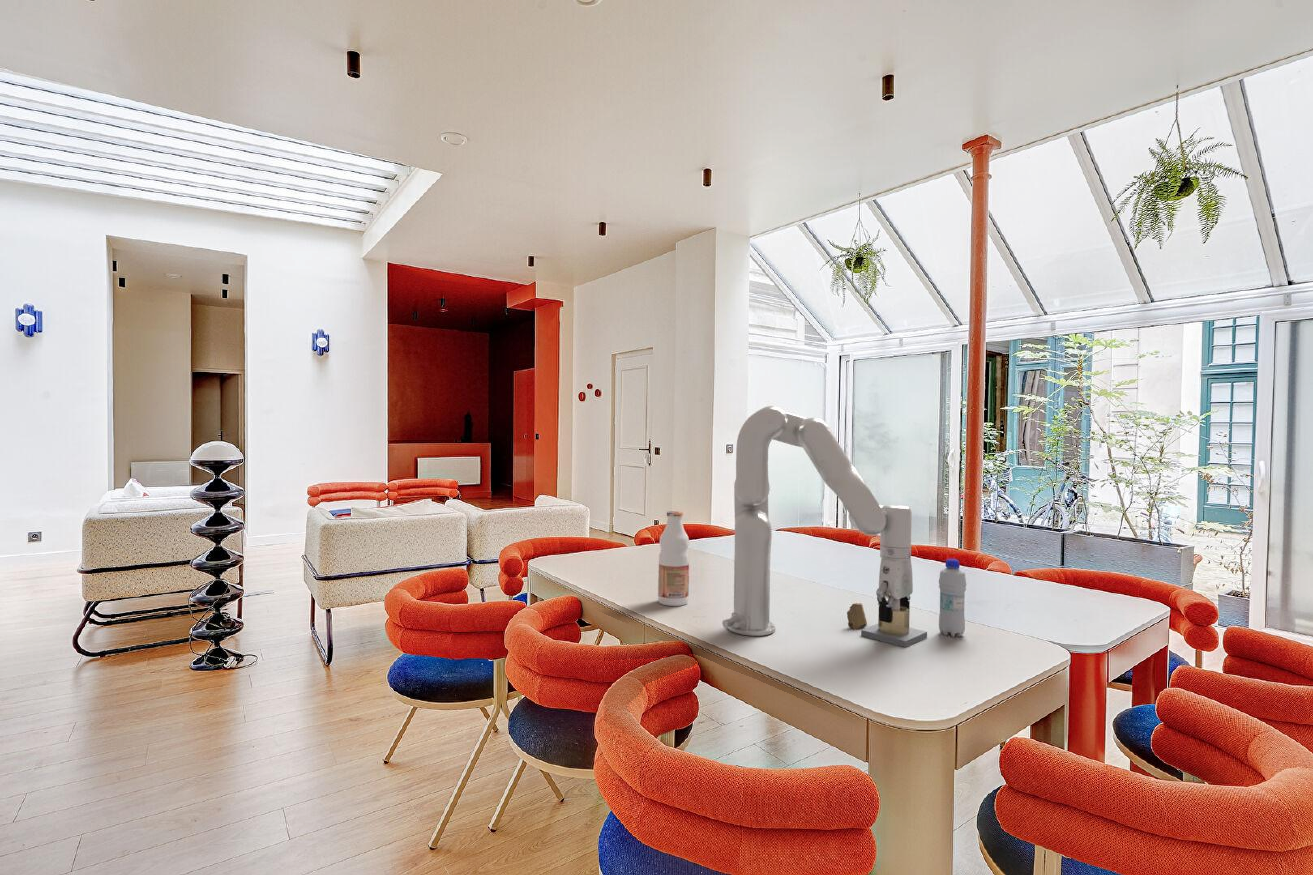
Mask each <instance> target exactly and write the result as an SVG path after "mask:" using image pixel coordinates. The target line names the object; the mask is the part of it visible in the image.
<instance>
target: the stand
mask: <svg viewBox="0 0 1313 875" xmlns="http://www.w3.org/2000/svg"><path fill="white" fill-rule="evenodd" d="M890 607H892V610H900V599H894V597H893V600H892V603H891V605H890ZM860 636H862V637H865V638H869V639H872V640H877V641H880V642H884V643H888V644H892V645H895V646H899V647H902V648H908V647H909V646H912V645H914V644H916V643H918V642H920V641H922V640H926V639H927V638H928V631H925V630H921V629H918V628H917V629H916V628H913V627H909V633H908V634H905V635H891V634H887V633H883V632H881V631H880V630H879V629H878V623H876V624H874V625H871V626H869V627H864V628H863V629H861V631H860Z"/></svg>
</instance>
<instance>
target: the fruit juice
mask: <svg viewBox="0 0 1313 875" xmlns="http://www.w3.org/2000/svg"><path fill="white" fill-rule="evenodd" d="M683 513H684V512H682V511H676V510H674V511H670V510H669V511H667V512H666V517H667V520H666V524H665V528H664V530H663V532H662V533H661V534H660V537H659V547H660V553H659V556H658V582H657V585H658V586H657V588H658V589H657V590H658V592H657V593H658V594H657V601H658V603H659V604H661V605H663V606H669V607H672V606H673V607H680V606H685V605H687V604H688V603H689V596H690V595H689V592H690V590H689V584H690V555H689V553H688V548H689V544H690V540H689V539H690V538H689V536H688V534H687V532H686V530H685V528H684V524H683V520H682V519H683Z"/></svg>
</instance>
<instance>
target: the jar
mask: <svg viewBox="0 0 1313 875" xmlns="http://www.w3.org/2000/svg"><path fill="white" fill-rule="evenodd" d="M910 611H911V610H909V609H908V608H907V607H904V606H900V610H892V622H891V623H887V622H883V621H880V620H879V616H878V618H877V619H878V620H877V621H878V623H877V624H878V629H879V630H880V631H881V632H883V633H887V634H891V635H905V634H908V633H909V628H910Z"/></svg>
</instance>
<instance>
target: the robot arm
mask: <svg viewBox="0 0 1313 875" xmlns="http://www.w3.org/2000/svg"><path fill="white" fill-rule="evenodd" d="M833 433H834V432H832V430H831V429H830V427H829V425H828V424H827V423H826V422H825V421H824V420H822V419H821V418H818V417H805V416H800V415H797V414H794V413H790V412H786V411H785V410H783V409H782V408H780V407H779V406H775V405H769V406H764V407H763V408H761V409H759V410H757V411H755V412H754V413H753V414H751V415H750V416H749V417H748V418H747V419H746V420H745V421H744V423H743V424H742V426H741V428H740V430H739V432H738V436H737V439H736V447H735V448H736V450H735V451H736V452H735V455H736V456H735V457H736V458H735V480H734V482H733V483H734V484H733V486H734V487H733V490H734V494H733V496H734V497H733V500H734V553H733V554H734V558H733V561H734V563H733V564H734V567H733V571H734V573H733V575H734V576H733V577H734V578H733V612H731V617H730V618H726V619H724V620H722V623H721V624H722V627H723V628H727V629H728V630H729V631H730V632H732V633H735V634H738V635H741V636H742V635H743V636H753V637H756V636H758V637H760V636H761V637H762V636H767V635H771V634H773V633H774V632H775V631H776V625H775V624H774V623H773V622H771V621H770V615H771V613H770V608H771V606H770V605H771V604H770V603H771V602H770V601H771V599H770V598H771V551H772V550H771V549H772V538H773V537H772V536H773V533H772V524H771V523H770V519H769V495H770V494H769V493H770V488H771V485H770V482H769V449H770V448H769V447H770V444H771V442H772V440H773V441H777V442H780V443H784V444H786V445H791V446H795V447H799V448H802V449H803V450H804V451H805V453H806V455H807V457H808V458H809V459H810V461H811V462H812V463H811V464H813V466H814V468H815V469H816V472H817V473H818V474H819V476H820V478H821V479H822V481H823V482H824V483H825V484H826V486H827V487H828V488H829V489H830V490H831V491H832V492H833V493H834V494H835V496H837V498H838V499H839V500H840V501H841V502H842V505H843V506H844V507H845V509H846V510H847V511H848V520H849V522H850V524H851V526H852V527H853V528H855V529H856V530H858V531H859V532H861V533H862V534H864V535H865V536H876V535H879V534H880V536H879V538H880V541H879V544H880V545H879V546H880V547H879V552H880V553H879V558H881V559H880V564H879V573H878V574H879V575H878V587H877V589H876V591H875V594H876V597H877V606H878V617H879V620H880V621H883V622H887V623H891V622H892V607H890V605H891V603H892V600H893V597H894V599H900V606H904V607H907V608H908V609H909V610H910V608H911V607H910V605H911V603H910V601H911V595H912V594H913V590H914V587H913V585H914V582H913V566H912V560H911V559H912V510H911V508H910V507H909V506H907V505H902V504H886V505H882V504H879V502H878V501H877V499H876V498H875V496H874V494H873V493H872V491H871V490H870V488H869V487H868V485H867V484H866V482H865V481H864V480H863V478H862V477H861V475H860V474H859V472H858V471H857V469H856V468H855V466H854V465H853V464H852V462H851V461H850V459H849V457H848V455H847V454H846V453H845V451H844V450H843V447H841V445H840V443H839V441H838V440H837V438H836V436H835V435H834V434H833ZM910 611H911V610H910Z"/></svg>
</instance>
